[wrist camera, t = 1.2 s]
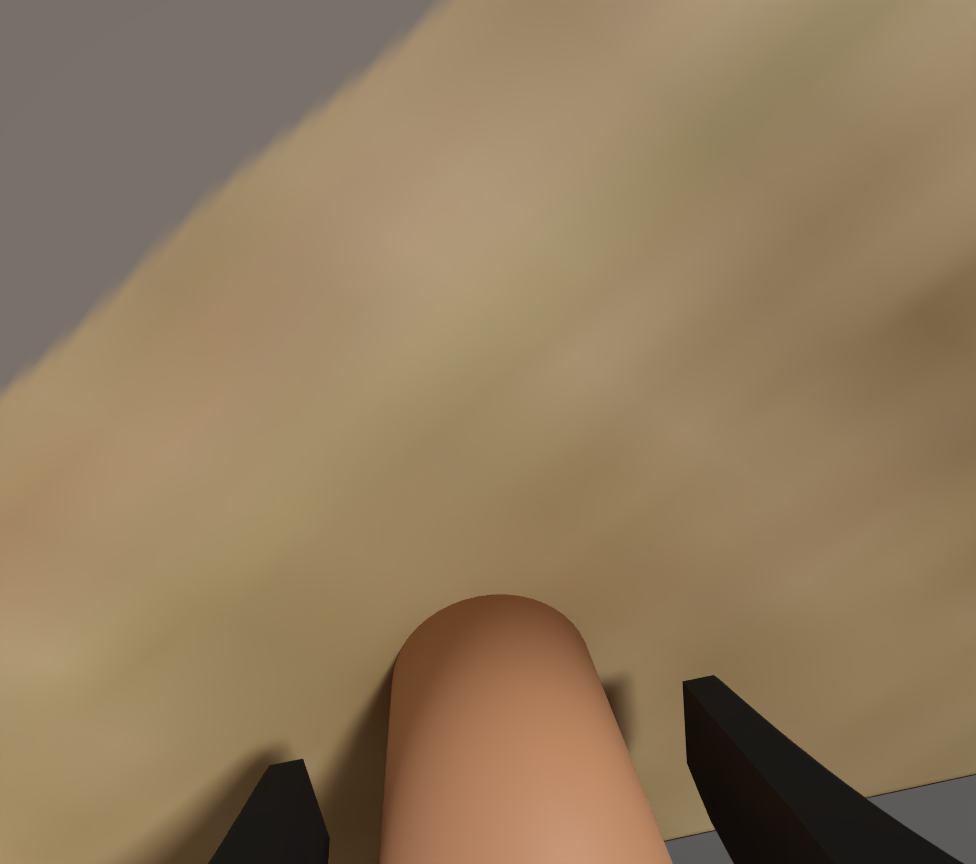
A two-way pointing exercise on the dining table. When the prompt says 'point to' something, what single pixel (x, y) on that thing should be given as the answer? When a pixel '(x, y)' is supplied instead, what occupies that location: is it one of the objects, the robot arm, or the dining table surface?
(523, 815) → the peg
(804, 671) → the dining table surface
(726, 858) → the box
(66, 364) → the dining table surface
